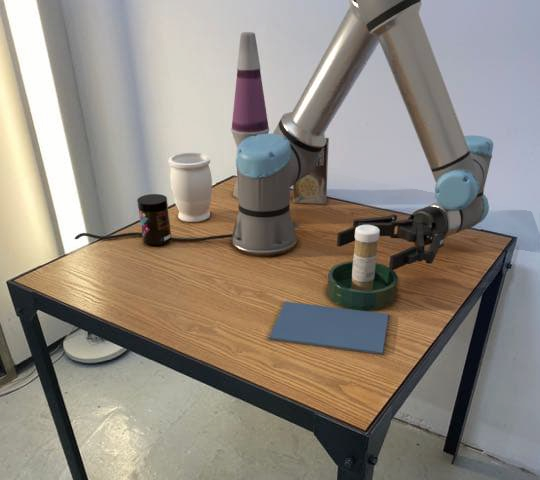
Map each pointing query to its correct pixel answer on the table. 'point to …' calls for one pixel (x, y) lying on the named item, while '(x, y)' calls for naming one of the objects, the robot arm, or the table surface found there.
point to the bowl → (360, 299)
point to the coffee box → (314, 182)
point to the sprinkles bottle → (364, 257)
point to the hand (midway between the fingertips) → (363, 251)
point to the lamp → (248, 95)
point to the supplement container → (154, 219)
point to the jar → (191, 185)
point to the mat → (331, 327)
